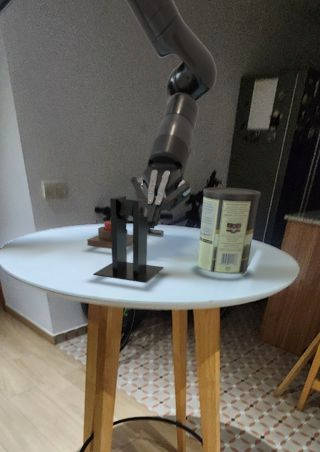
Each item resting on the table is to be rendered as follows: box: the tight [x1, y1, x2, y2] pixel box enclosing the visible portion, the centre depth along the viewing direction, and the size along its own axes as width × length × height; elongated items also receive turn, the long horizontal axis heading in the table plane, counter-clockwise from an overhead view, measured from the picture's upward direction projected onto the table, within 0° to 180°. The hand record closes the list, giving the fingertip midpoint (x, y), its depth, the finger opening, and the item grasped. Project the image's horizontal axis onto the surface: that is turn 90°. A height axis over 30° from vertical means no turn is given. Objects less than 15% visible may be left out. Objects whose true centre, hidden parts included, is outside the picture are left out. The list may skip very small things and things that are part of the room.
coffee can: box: [196, 186, 262, 277], centre depth 70 cm, size 10×10×14 cm
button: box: [104, 220, 111, 231], centre depth 83 cm, size 4×4×2 cm
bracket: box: [92, 195, 164, 284], centre depth 64 cm, size 10×10×13 cm
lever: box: [120, 198, 165, 238], centre depth 66 cm, size 13×6×2 cm, turn 161°
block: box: [86, 225, 133, 250], centre depth 84 cm, size 8×10×4 cm
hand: (149, 225), depth 72 cm, fingers closed
